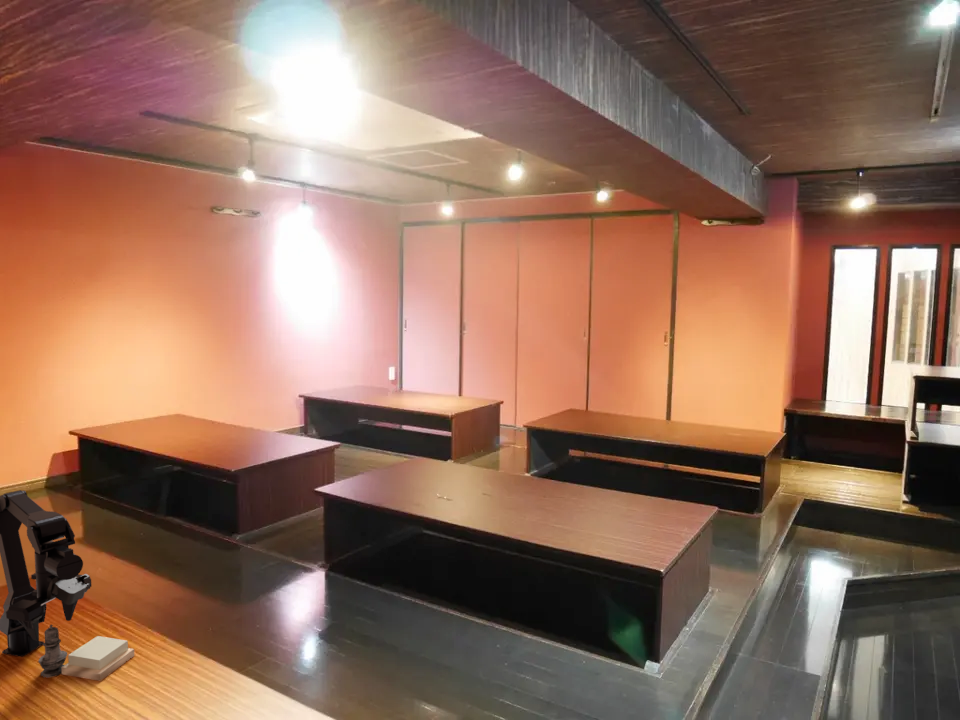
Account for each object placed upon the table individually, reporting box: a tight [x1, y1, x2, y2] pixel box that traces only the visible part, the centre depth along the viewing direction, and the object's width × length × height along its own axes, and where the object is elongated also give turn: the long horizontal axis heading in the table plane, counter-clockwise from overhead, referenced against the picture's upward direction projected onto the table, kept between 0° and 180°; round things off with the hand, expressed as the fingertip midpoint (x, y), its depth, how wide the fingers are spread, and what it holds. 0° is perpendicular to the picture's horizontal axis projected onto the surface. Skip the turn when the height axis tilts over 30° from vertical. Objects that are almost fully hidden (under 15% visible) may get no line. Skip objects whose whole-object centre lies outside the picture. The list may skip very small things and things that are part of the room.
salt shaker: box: [37, 624, 68, 678], centre depth 155 cm, size 6×6×12 cm
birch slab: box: [61, 647, 135, 682], centre depth 159 cm, size 11×11×2 cm
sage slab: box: [67, 635, 129, 670], centre depth 159 cm, size 9×9×2 cm
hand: (52, 629), depth 154 cm, fingers open, 9 cm apart
